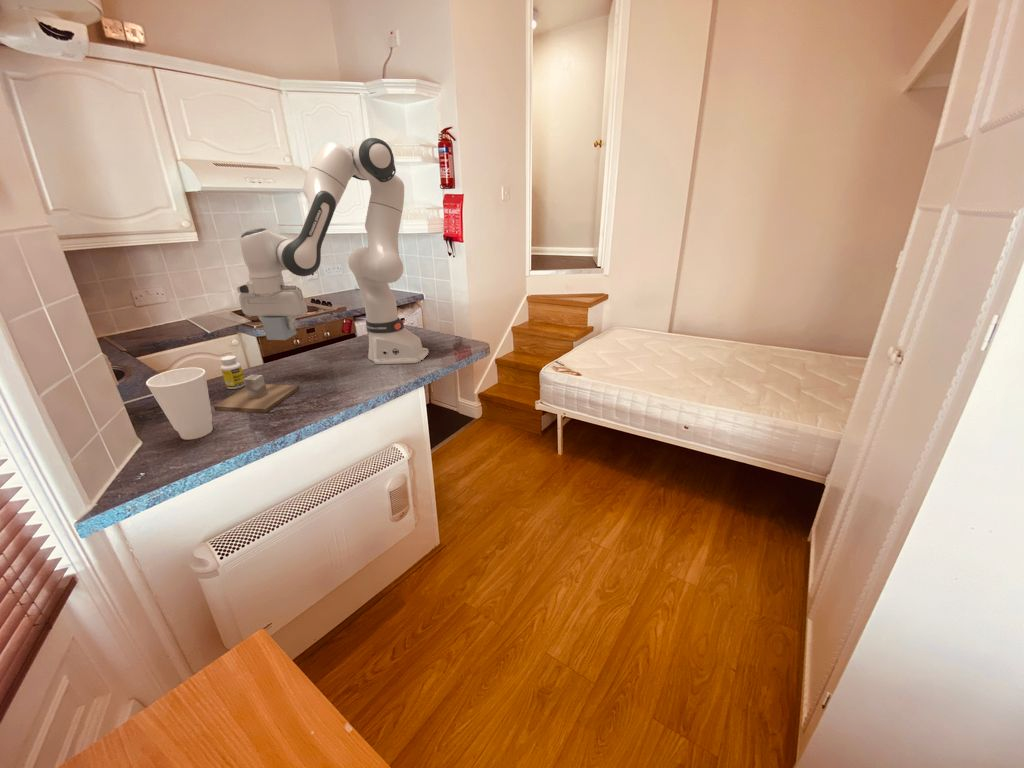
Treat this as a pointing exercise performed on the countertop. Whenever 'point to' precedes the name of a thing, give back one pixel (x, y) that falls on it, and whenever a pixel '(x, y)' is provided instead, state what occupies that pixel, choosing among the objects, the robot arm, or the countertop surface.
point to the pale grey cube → (277, 328)
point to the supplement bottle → (232, 372)
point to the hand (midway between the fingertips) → (280, 328)
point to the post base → (257, 403)
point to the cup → (184, 400)
